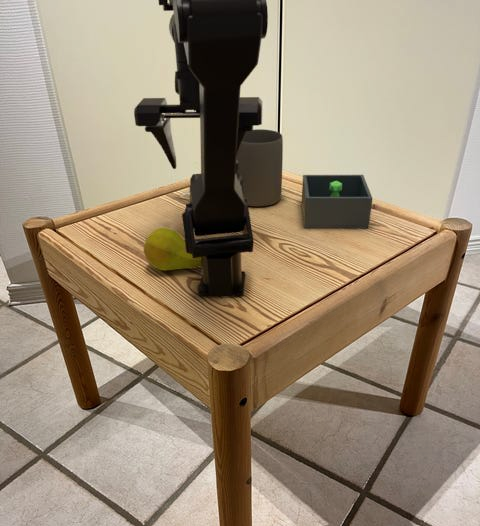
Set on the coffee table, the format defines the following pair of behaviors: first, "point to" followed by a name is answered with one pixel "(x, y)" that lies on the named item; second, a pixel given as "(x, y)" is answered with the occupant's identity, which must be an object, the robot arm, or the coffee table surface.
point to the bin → (336, 202)
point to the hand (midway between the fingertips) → (203, 168)
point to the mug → (261, 166)
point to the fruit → (168, 250)
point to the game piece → (335, 188)
